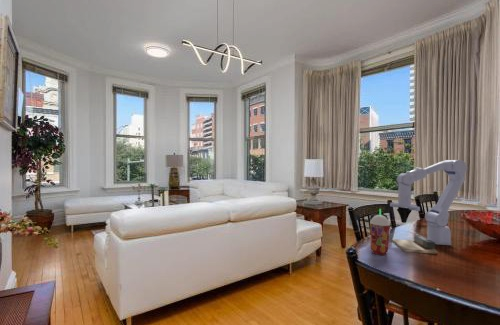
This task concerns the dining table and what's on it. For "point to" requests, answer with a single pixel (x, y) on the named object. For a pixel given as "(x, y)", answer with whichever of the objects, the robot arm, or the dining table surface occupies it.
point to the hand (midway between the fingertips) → (403, 222)
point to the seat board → (412, 246)
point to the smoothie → (379, 234)
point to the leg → (424, 241)
